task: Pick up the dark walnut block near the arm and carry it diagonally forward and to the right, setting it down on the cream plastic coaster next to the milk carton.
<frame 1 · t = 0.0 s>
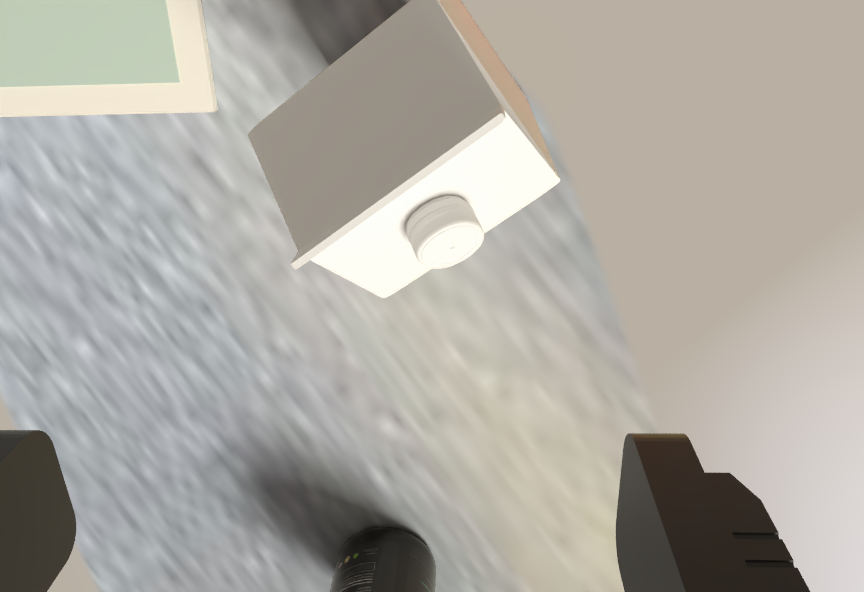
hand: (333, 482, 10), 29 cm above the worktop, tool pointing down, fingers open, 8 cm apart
milk carton: (429, 83, 36), on the worktop
supplement bottle: (387, 559, 50), on the worktop
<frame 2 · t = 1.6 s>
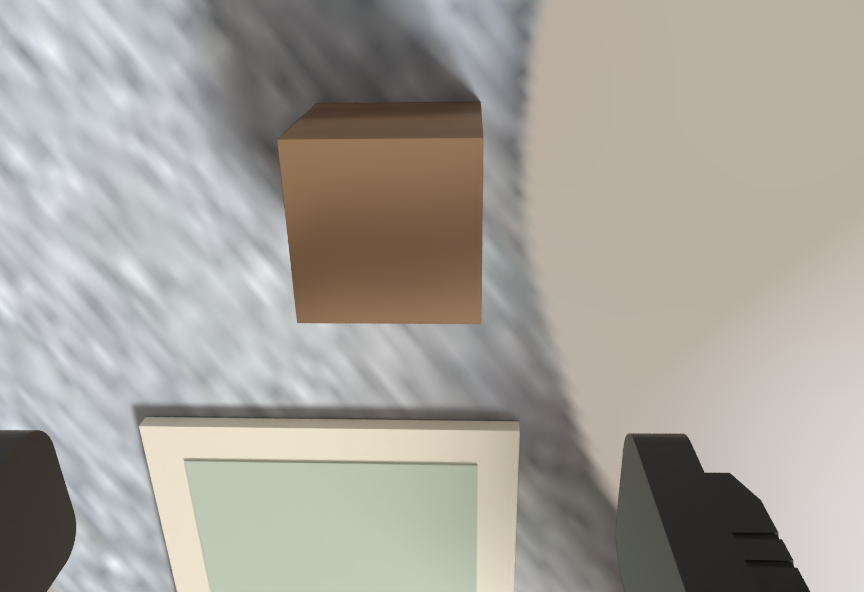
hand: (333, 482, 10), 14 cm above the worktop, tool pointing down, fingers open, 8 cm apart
walnut block: (401, 182, 23), on the worktop
coaster: (343, 560, 30), on the worktop
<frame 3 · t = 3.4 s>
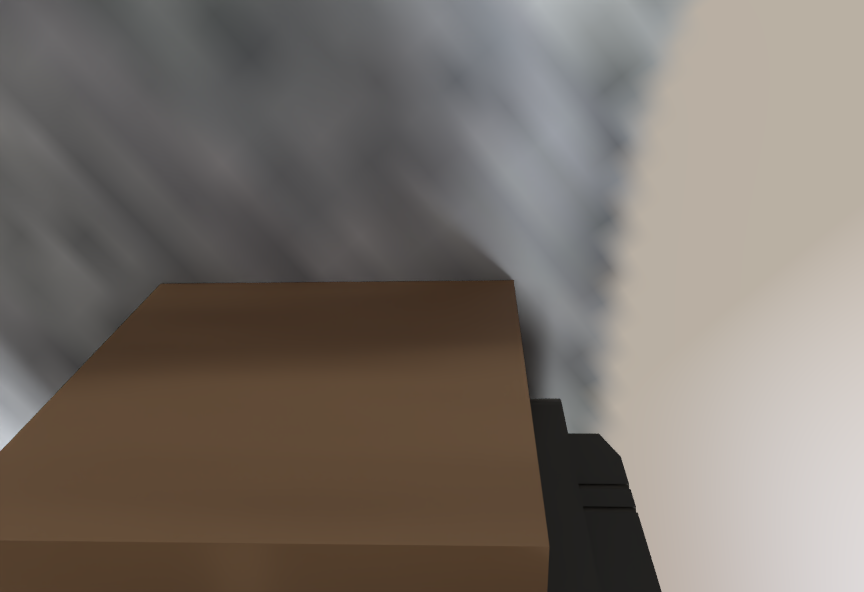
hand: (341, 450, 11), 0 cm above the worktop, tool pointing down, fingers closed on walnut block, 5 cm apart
walnut block: (349, 429, 11), on the worktop, touching gripper
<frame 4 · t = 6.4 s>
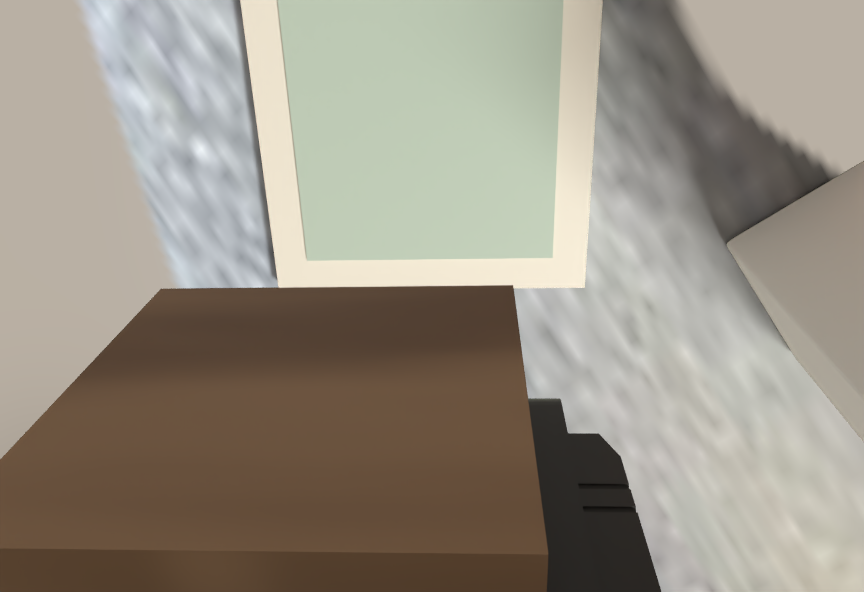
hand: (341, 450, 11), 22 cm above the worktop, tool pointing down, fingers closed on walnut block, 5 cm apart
walnut block: (349, 433, 11), point 21 cm above the worktop, touching gripper
milk carton: (831, 257, 32), on the worktop
coaster: (425, 132, 31), on the worktop
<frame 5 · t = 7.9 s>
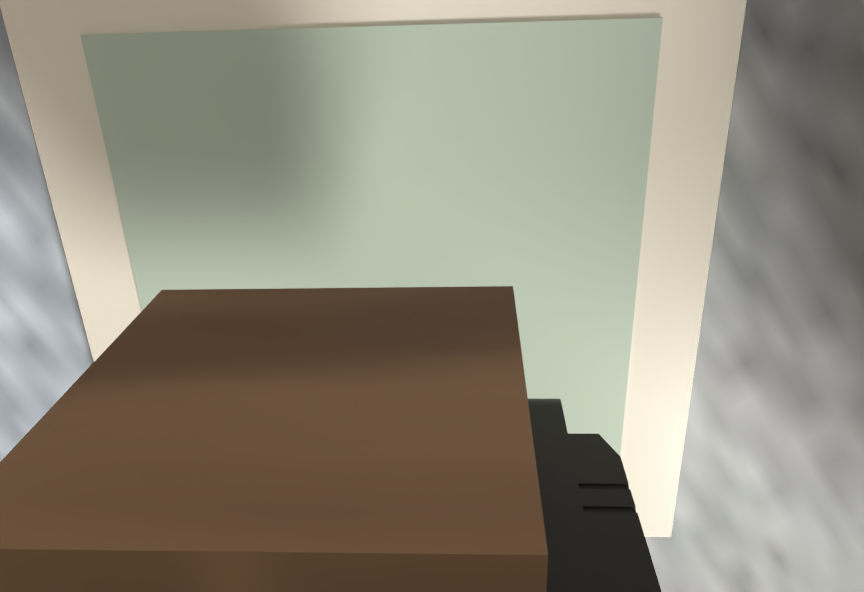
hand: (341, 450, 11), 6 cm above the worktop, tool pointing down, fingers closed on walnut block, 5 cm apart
walnut block: (349, 434, 11), point 6 cm above the worktop, touching gripper
coaster: (385, 279, 16), on the worktop
when the fingers open (2 cm above the worktop, at t = 9.2 s): walnut block stays where it is, resting on coaster.
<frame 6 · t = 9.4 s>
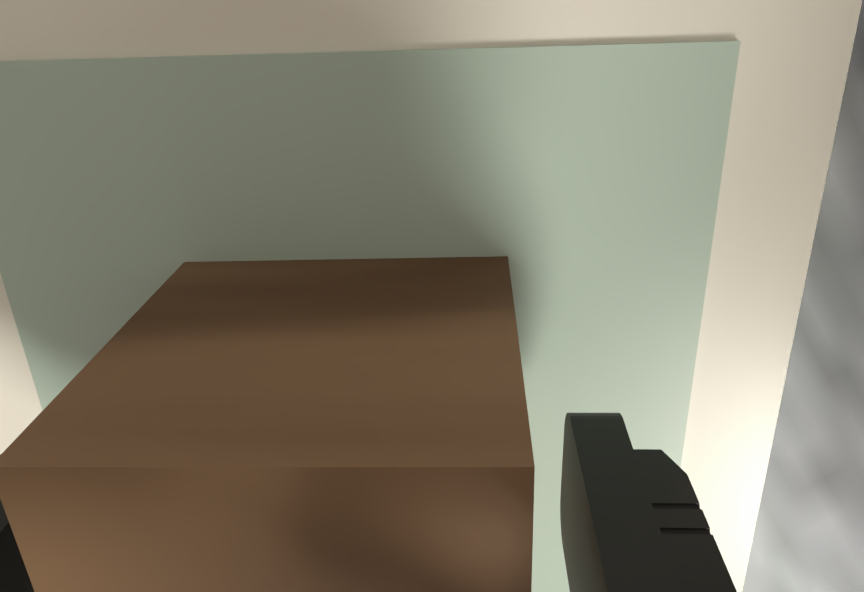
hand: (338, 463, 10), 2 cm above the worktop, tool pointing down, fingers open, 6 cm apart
walnut block: (357, 397, 12), point 1 cm above the worktop, touching coaster
coaster: (361, 375, 13), on the worktop
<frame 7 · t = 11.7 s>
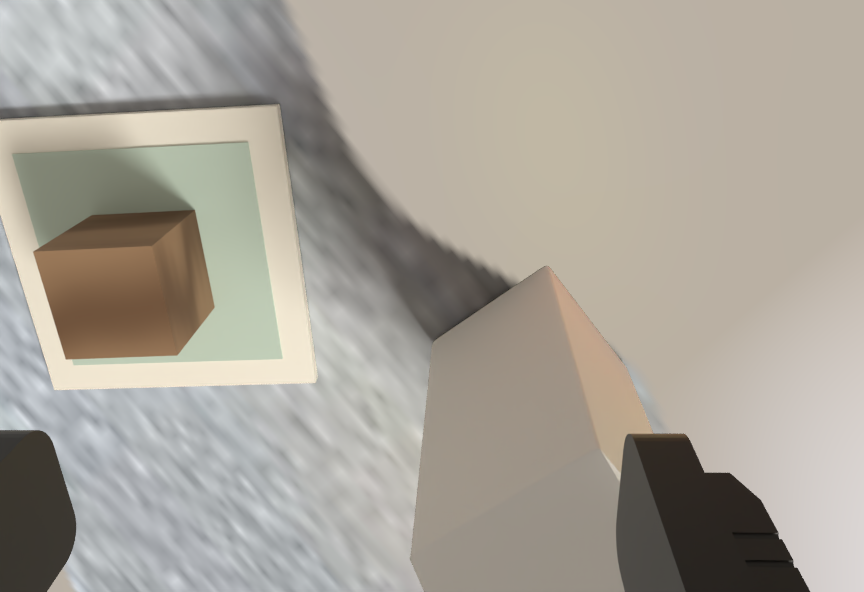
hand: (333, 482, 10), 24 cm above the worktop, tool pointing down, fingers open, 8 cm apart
walnut block: (154, 262, 35), point 1 cm above the worktop, touching coaster
milk carton: (528, 351, 37), on the worktop
coaster: (160, 256, 35), on the worktop
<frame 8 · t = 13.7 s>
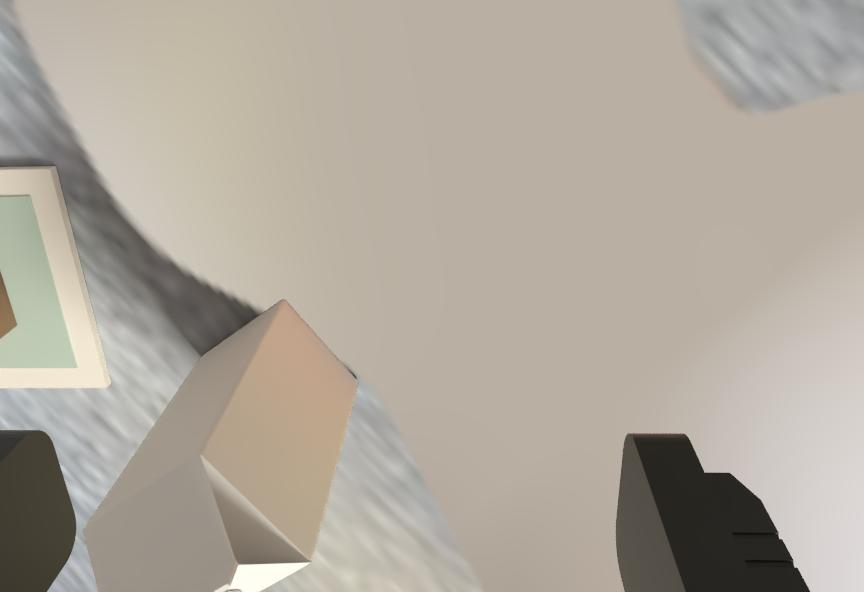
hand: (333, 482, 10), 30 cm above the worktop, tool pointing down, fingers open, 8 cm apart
milk carton: (281, 366, 45), on the worktop
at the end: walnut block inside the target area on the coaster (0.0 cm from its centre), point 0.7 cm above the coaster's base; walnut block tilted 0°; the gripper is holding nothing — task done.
